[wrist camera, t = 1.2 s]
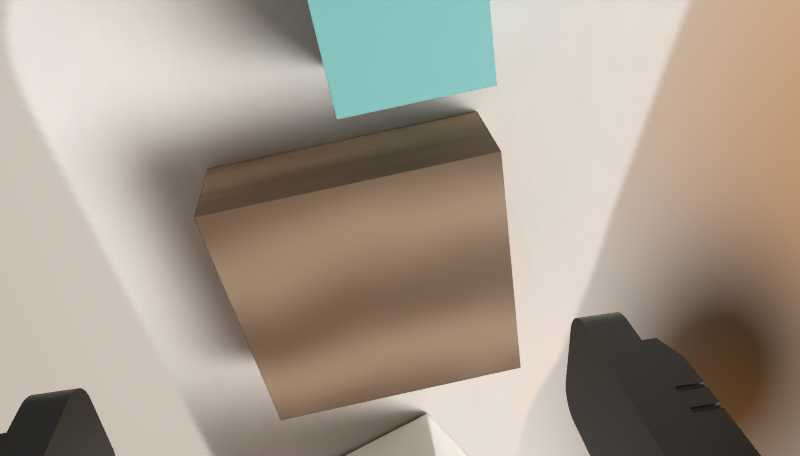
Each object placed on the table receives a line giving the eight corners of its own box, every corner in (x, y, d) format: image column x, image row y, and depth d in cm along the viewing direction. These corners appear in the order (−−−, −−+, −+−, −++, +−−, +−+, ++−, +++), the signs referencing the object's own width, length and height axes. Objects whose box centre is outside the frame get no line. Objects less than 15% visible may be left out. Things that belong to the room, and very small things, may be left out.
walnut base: (207, 169, 27) (194, 217, 24) (477, 111, 27) (500, 151, 24) (283, 361, 34) (280, 420, 30) (499, 314, 34) (520, 367, 30)
